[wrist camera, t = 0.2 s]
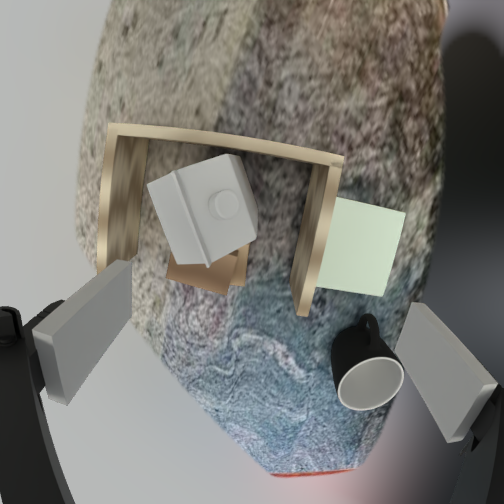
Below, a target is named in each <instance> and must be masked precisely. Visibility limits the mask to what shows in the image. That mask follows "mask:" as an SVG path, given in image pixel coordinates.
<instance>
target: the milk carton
mask: <svg viewBox="0 0 504 504" xmlns="http://www.w3.org/2000/svg"><path fill="white" fill-rule="evenodd" d="M147 188H148V190H149V193H150V196H151V199H152V202H153V204H154V207H155V210H156V212H157V215H158V217H159V220H160V223H161V225H162V228H163V230H164V233H165V236H166V238H167V241H168V243H169V246H170V248H171V251H172V253H173V256H174V258H175V260H176V263H177V264H206V267H207V268H209V267H210V265H211V263H212V262H214V261H216V260H218V259H220V258H222V257H224V256H225V255H227V254H229V253H231V252H233V251H235V250H237V249H238V248H240V247H242V246H244V245H246V244H248V243H250V242H252V241H253V240H255V239H256V238H257V225H258V206H257V203H256V200H255V198H254V195H253V192H252V189H251V186H250V183H249V180H248V177H247V174H246V171H245V168H244V166H243V163H242V160H241V157H240V156H238V155H232V154H224V155H221V156H217V157H214V158H211V159H208V160H205V161H202V162H199V163H196V164H193V165H190V166H187V167H184V168H181V169H178V170H173V171H171V173H169V174H167V175H165V176H163V177H161V178H159V179H157V180H155V181H153V182H151V183H149V184H147Z"/></svg>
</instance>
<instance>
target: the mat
mask: <svg viewBox="0 0 504 504" xmlns="http://www.w3.org/2000/svg"><path fill="white" fill-rule="evenodd" d="M405 215H406V213H404V212H400V211H396V210H392V209H388V208H384V207H380V206H375V205H371V204H367V203H363V202H358V201H354V200H349V199H345V198H340V197H336V201H335V206H334V210H333V215H332V220H331V224H330V229H329V233H328V237H327V242H326V246H325V250H324V255H323V259H322V263H321V267H320V271H319V275H318V279H317V283H316V286H317V287H323V288H329V289H336V290H342V291H349V292H355V293H362V294H369V295H376V296H382V297H383V294H384V291H385V288H386V284H387V281H388V278H389V274H390V271H391V268H392V264H393V261H394V257H395V254H396V250H397V246H398V243H399V239H400V235H401V231H402V227H403V223H404V219H405Z"/></svg>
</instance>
